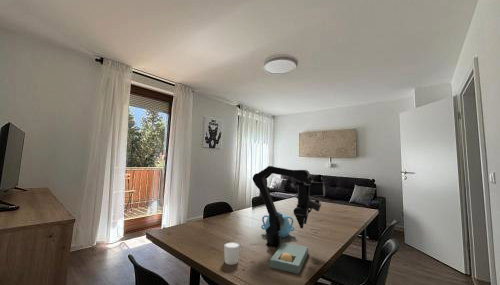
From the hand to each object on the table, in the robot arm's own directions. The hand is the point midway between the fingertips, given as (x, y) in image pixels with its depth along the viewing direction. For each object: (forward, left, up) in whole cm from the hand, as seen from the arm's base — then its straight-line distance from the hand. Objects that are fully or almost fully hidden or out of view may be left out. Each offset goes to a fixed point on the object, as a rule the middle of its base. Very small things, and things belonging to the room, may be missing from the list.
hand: (303, 226), depth 107 cm
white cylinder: (-26, -27, -12) cm, 39 cm away
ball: (-4, -20, -10) cm, 22 cm away
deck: (-3, -13, -12) cm, 18 cm away
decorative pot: (-19, +18, -12) cm, 29 cm away
